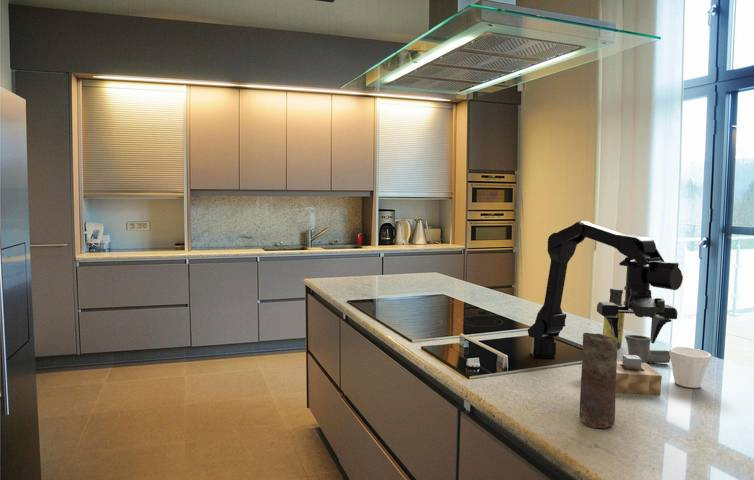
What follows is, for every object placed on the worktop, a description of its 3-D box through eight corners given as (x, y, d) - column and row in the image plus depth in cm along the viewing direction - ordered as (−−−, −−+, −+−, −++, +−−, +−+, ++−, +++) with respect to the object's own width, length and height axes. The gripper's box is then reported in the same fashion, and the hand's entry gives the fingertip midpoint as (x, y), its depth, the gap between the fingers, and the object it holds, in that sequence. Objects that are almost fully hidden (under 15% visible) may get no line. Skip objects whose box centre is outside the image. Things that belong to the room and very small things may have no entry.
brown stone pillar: (572, 415, 124) (577, 330, 123) (603, 415, 125) (608, 330, 123) (588, 430, 117) (593, 339, 115) (621, 429, 117) (626, 339, 116)
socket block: (615, 391, 141) (616, 372, 140) (603, 377, 152) (604, 360, 151) (660, 394, 140) (661, 375, 139) (644, 380, 150) (646, 362, 150)
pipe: (671, 367, 163) (673, 341, 163) (626, 363, 166) (627, 338, 165) (665, 361, 169) (666, 336, 169) (621, 357, 172) (623, 333, 171)
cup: (703, 381, 151) (706, 349, 150) (713, 393, 141) (716, 359, 141) (663, 377, 154) (666, 345, 153) (670, 388, 145) (672, 354, 144)
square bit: (625, 387, 144) (627, 358, 144) (621, 383, 148) (623, 354, 147) (639, 388, 144) (641, 359, 143) (635, 384, 147) (637, 355, 147)
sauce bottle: (612, 349, 181) (615, 290, 180) (597, 344, 187) (601, 287, 185) (626, 347, 184) (630, 289, 182) (611, 343, 189) (615, 286, 188)
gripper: (609, 287, 137) (606, 348, 138) (688, 290, 134) (684, 352, 135) (597, 281, 148) (594, 337, 149) (670, 284, 145) (666, 341, 146)
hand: (634, 342), depth 145 cm, fingers open, 9 cm apart
